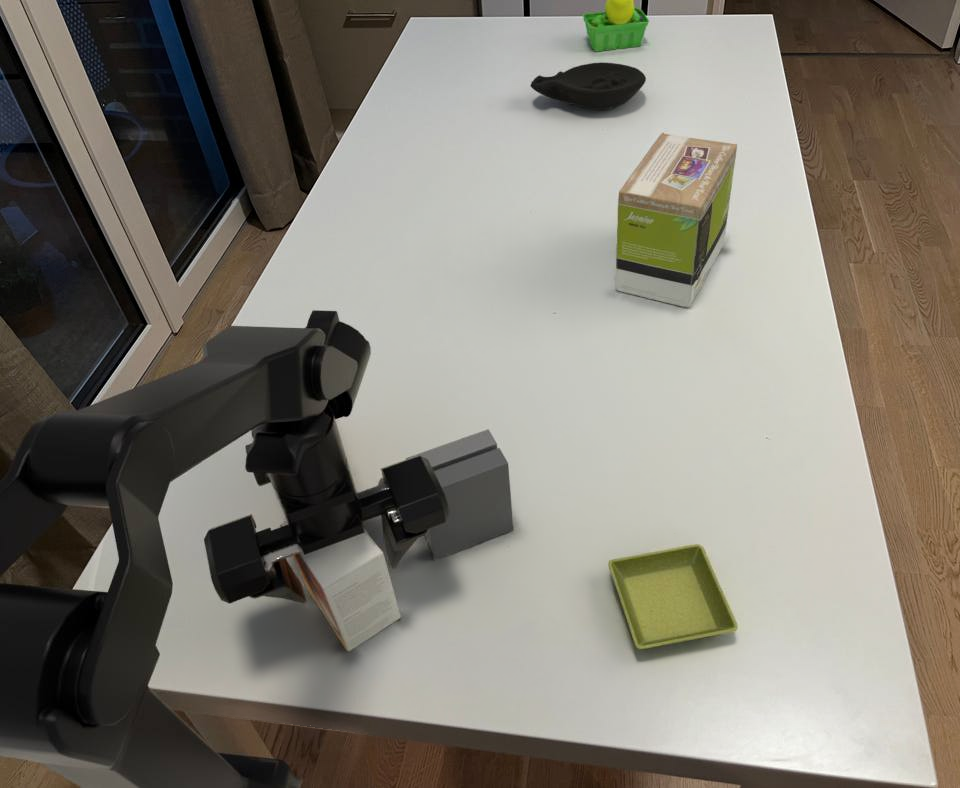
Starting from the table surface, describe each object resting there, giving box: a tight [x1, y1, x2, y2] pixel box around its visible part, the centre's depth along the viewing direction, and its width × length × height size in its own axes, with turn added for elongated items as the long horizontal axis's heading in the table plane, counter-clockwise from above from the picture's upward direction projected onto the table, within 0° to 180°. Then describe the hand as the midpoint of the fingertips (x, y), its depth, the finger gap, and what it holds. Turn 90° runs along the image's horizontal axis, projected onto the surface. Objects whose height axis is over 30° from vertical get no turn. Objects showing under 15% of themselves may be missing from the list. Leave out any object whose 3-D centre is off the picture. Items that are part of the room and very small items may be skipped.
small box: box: [279, 520, 401, 652], centre depth 68 cm, size 8×6×10 cm
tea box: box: [614, 132, 738, 308], centre depth 98 cm, size 15×10×15 cm
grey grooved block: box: [405, 429, 514, 561], centre depth 73 cm, size 8×4×10 cm, turn 112°
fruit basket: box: [582, 0, 650, 52], centre depth 151 cm, size 11×9×11 cm
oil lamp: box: [530, 61, 647, 110], centre depth 137 cm, size 15×20×5 cm
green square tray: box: [607, 543, 739, 650], centre depth 68 cm, size 9×9×2 cm
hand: (348, 581), depth 69 cm, fingers open, 8 cm apart
